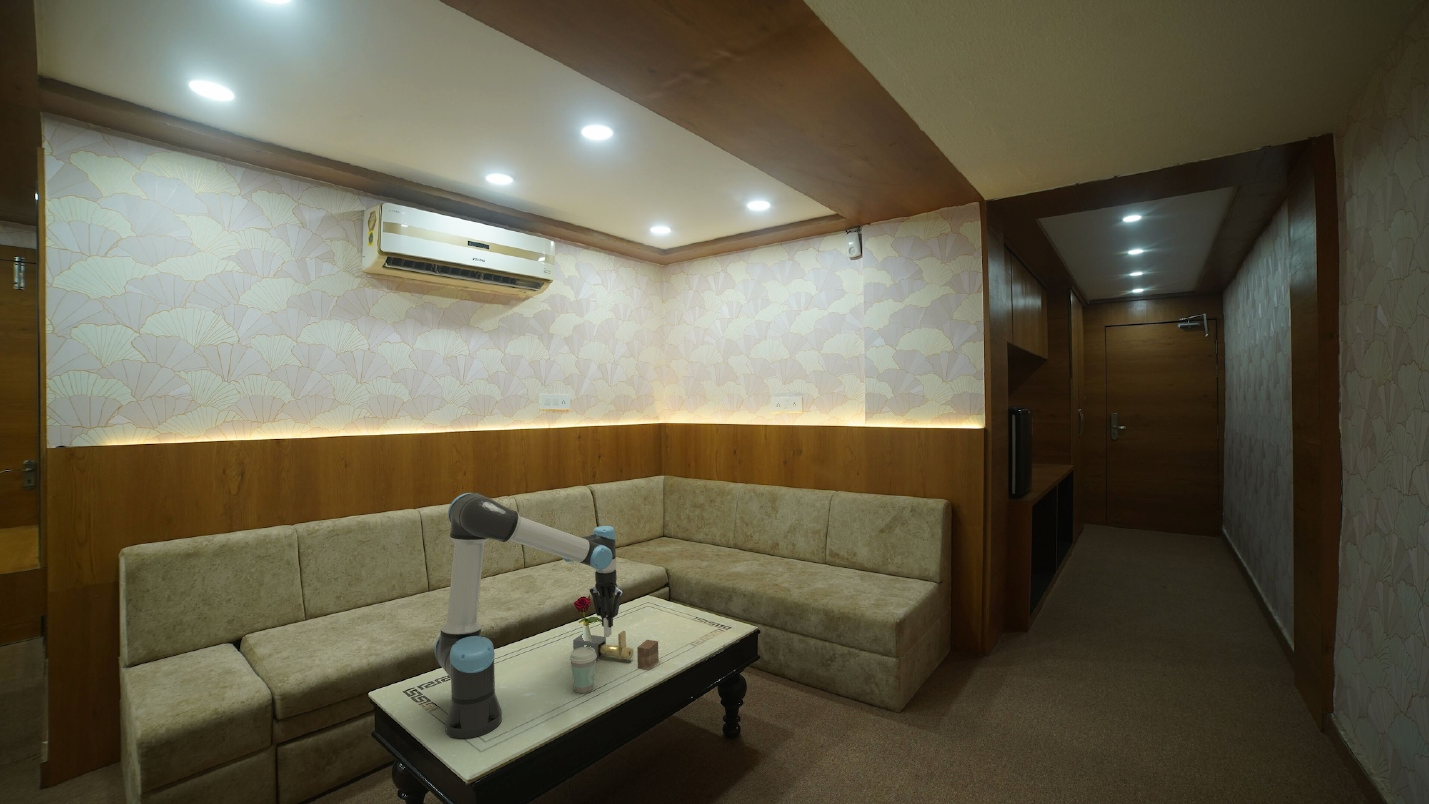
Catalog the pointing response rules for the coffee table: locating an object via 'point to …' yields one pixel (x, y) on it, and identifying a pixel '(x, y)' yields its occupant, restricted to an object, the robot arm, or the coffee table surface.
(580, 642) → the sleeve
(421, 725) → the coffee table surface
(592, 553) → the robot arm
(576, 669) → the coffee cup
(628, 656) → the tube
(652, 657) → the brown wooden block
